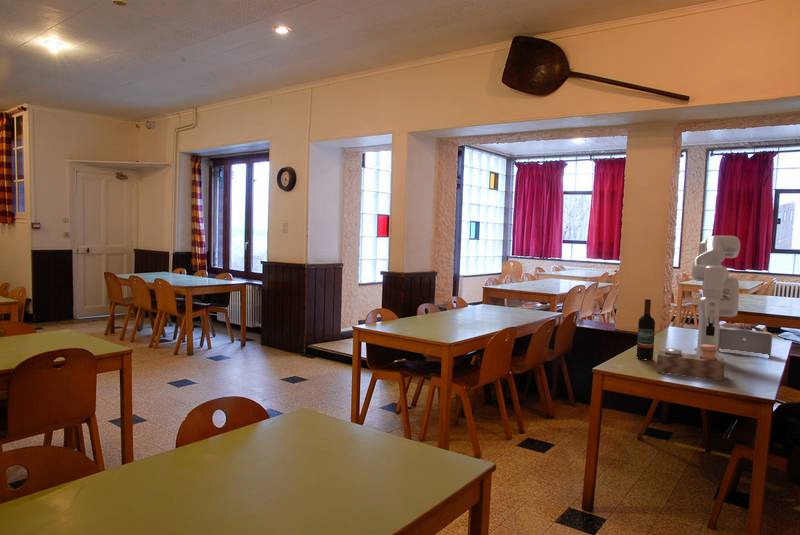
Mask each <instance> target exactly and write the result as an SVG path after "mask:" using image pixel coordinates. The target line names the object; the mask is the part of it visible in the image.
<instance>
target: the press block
mask: <svg viewBox="0 0 800 535" xmlns="http://www.w3.org/2000/svg"><path fill="white" fill-rule="evenodd" d="M721 357H722V356H720V357H715V361H713V360H705V359H702V355H695V353H693V354H692V353H685V352H684V353H683V352H682V354H681V355H680V356H671V355H667V353H665V350H660V349H659V351H658V353H657V360H656V361H657V363H656V364H657V367H656V373H659V372H664V373H663V374H666V373H671V374H670V375H674V374H678V375H677V376H681V375H685V376H684V377H689V376H691V377H690V378H696V377H698V379H703V378H705V380H713V381H718V380H719V382H720V381H721V382H724V378H725V365H726V362H725V358H724V357H722V358H721Z"/></svg>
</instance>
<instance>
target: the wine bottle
mask: <svg viewBox="0 0 800 535" xmlns="http://www.w3.org/2000/svg"><path fill="white" fill-rule="evenodd" d="M651 304H652V299H646V298H645V299H644V308H643V310H644V311H643V315H642V316H640V317H639V319H638V321H637V322H638V324H637V340H636V343H637V344H636V357H638V358H640V359H647V360H646V361H649V360H650V361H652V360H651V359H653V360H654V346H655V329H656V321H655V318H653V317H652V315H651V309H652V308H651V306H652V305H651ZM640 359H639V360H640Z"/></svg>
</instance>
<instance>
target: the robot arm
mask: <svg viewBox="0 0 800 535" xmlns="http://www.w3.org/2000/svg"><path fill="white" fill-rule="evenodd" d="M740 250H741V241H740V239H739V238H738V237H737V236H735V235H712V236H709V237H707V238H706V240H704V241H700V243H699V244H698V254H699V255H698V256H696V258H695V259H694V260H693V263H692V267H691V268H692V270H691V276H692V279H693V280H694V281H697V282H702V284H701V286H702V296H701V297H699V299H698V301H697V309H698V330H697V343H696V344H697V346H696V347H694V348H693V349H694V351H696V353H694V354H695V355H702V349H700V345H702V344H707V345H714V346H718V351H719V336H720V327H721V324H720V322H719V318H720V317H722V318H723V317H725V318H735V317H736V316H737V315H738V311H739V298H740V297H739V296H740V284H739V283H740V282H739V279H738V278H737V277H734V276H729V273H730V272H729V269H727V267H726V266H725V265H722V262H724V261H725V259H735V258H737V257H738V256H739V253H740ZM723 296H727V297H723ZM718 351H716V355H715V357H721V358H723V357H722V356H720V355H719V352H718Z"/></svg>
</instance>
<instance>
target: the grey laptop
mask: <svg viewBox="0 0 800 535" xmlns="http://www.w3.org/2000/svg"><path fill="white" fill-rule="evenodd" d="M743 339H745V340H743ZM772 345H773V333H771V332H768V331H760V330H759V331H758V330H750V329H742V328H740V329H739V328H731V327H722V326H720V336H719V348H721V349H730V350H739V351H747V352H754V353H762V354H768V355H769V359H771V355H772Z"/></svg>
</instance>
